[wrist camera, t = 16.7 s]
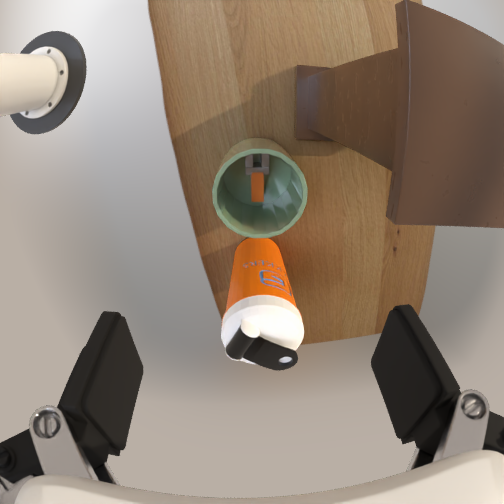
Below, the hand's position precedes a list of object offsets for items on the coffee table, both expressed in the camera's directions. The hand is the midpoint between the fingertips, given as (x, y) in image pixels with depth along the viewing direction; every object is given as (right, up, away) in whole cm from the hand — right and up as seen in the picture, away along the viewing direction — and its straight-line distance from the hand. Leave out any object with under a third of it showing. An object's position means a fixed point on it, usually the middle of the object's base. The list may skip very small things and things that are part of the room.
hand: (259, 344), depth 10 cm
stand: (+10, +23, +25) cm, 35 cm away
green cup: (0, +14, +30) cm, 33 cm away
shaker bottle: (+1, +3, +36) cm, 36 cm away
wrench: (0, +14, +29) cm, 32 cm away
